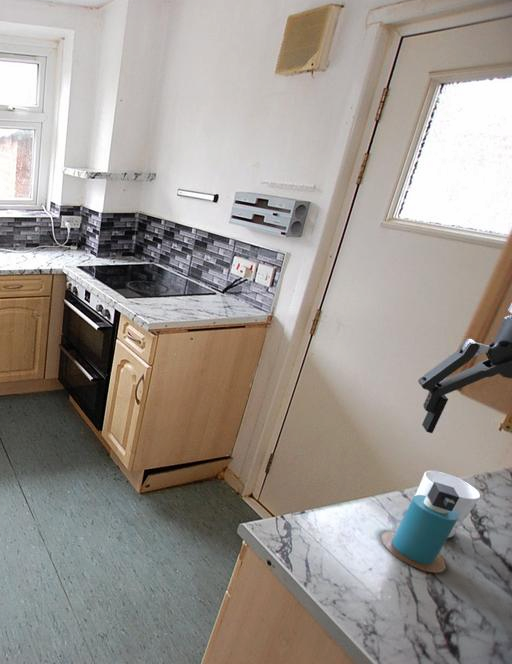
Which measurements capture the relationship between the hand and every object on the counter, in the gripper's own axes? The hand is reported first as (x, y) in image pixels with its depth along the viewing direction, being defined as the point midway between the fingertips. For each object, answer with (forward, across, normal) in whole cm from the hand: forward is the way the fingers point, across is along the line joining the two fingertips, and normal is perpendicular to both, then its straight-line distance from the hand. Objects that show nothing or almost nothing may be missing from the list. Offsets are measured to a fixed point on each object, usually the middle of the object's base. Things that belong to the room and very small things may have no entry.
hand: (479, 442), depth 75 cm
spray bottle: (+23, -2, -1) cm, 23 cm away
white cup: (+24, +3, +10) cm, 26 cm away
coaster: (+24, -2, -1) cm, 24 cm away
